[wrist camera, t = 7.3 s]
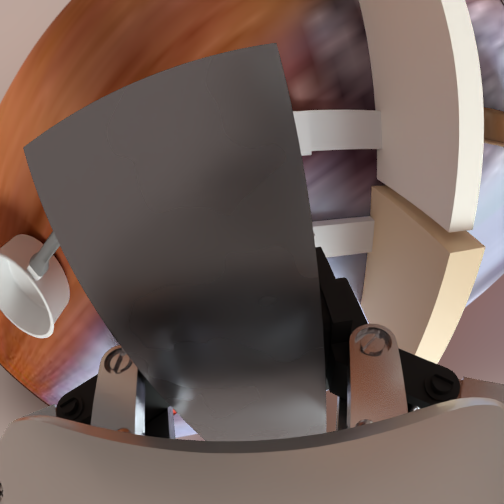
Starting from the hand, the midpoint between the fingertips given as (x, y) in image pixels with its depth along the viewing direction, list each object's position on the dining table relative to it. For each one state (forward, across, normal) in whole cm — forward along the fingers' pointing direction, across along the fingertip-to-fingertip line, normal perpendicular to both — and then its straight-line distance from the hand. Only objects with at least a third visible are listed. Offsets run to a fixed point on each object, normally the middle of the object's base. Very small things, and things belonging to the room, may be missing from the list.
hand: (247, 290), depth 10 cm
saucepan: (+12, +22, +3) cm, 25 cm away
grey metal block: (+1, 0, 0) cm, 1 cm away
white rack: (+12, -4, -2) cm, 13 cm away
